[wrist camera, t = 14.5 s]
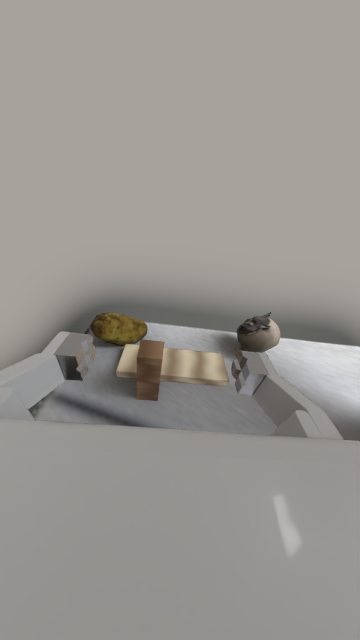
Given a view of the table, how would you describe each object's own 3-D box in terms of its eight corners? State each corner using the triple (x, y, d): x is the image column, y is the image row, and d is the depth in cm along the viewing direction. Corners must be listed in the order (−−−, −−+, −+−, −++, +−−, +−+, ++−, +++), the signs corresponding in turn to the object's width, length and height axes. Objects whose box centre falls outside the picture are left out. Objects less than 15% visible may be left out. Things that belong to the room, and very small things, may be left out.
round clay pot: (227, 337, 54) (233, 363, 45) (241, 303, 47) (250, 325, 39) (260, 342, 54) (271, 369, 46) (277, 309, 47) (295, 333, 39)
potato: (145, 352, 44) (146, 327, 39) (90, 350, 42) (85, 324, 37) (147, 331, 51) (148, 307, 46) (100, 328, 49) (96, 304, 44)
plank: (219, 359, 46) (221, 353, 45) (226, 386, 39) (229, 380, 38) (126, 349, 44) (125, 343, 43) (116, 376, 37) (116, 370, 36)
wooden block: (161, 357, 43) (166, 318, 36) (157, 400, 34) (162, 359, 27) (145, 356, 43) (147, 316, 36) (136, 399, 34) (136, 357, 27)
